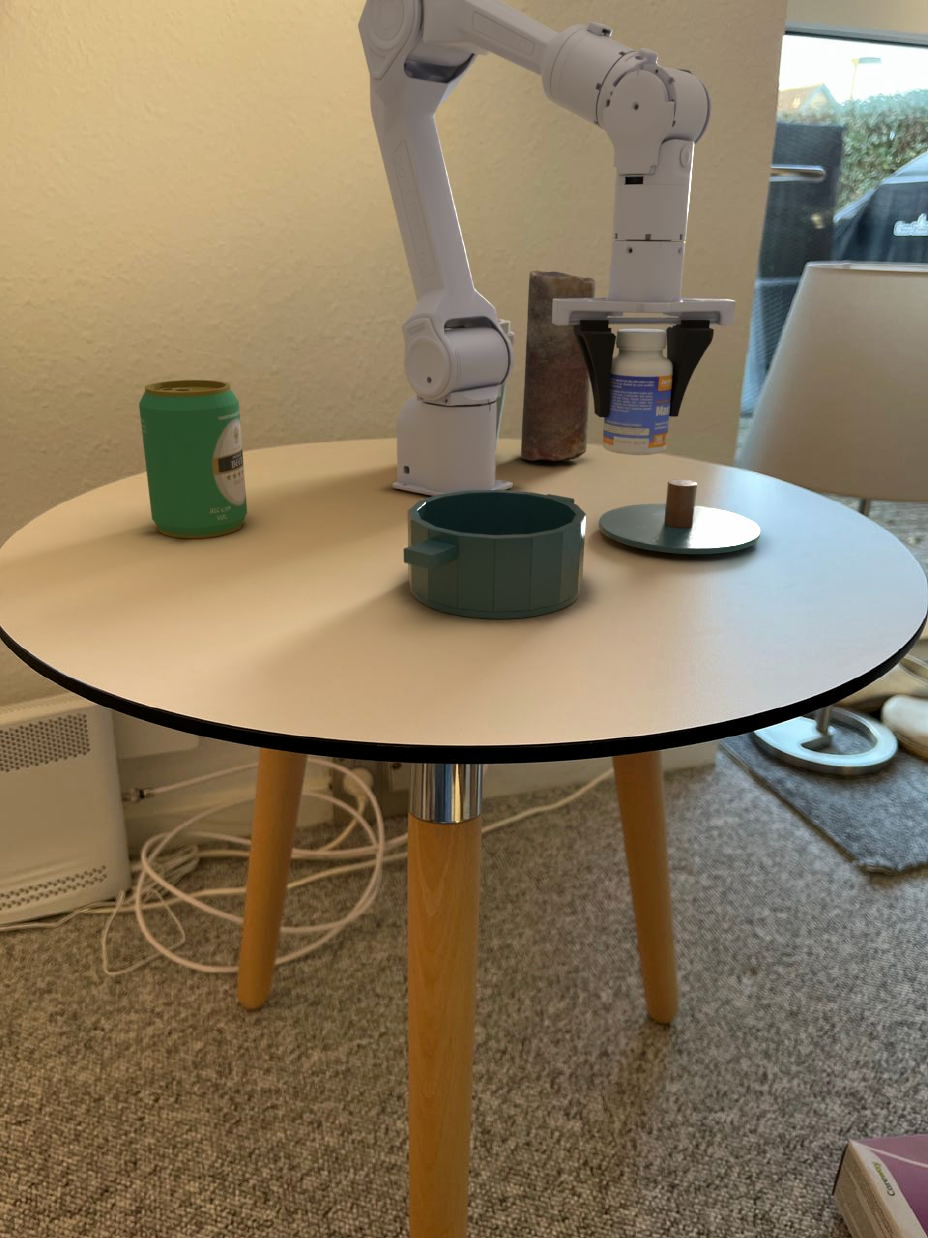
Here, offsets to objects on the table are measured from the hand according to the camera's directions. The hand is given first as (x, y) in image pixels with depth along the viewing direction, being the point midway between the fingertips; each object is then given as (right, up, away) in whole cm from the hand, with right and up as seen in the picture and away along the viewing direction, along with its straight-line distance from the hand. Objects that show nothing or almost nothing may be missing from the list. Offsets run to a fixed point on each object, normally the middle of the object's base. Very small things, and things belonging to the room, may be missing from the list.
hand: (635, 414), depth 82 cm
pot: (-12, -15, -10) cm, 22 cm away
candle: (-4, +1, +29) cm, 30 cm away
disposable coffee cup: (-14, +1, +29) cm, 32 cm away
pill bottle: (0, -3, +1) cm, 3 cm away
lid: (+4, -10, +1) cm, 10 cm away
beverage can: (-37, -9, +3) cm, 38 cm away
